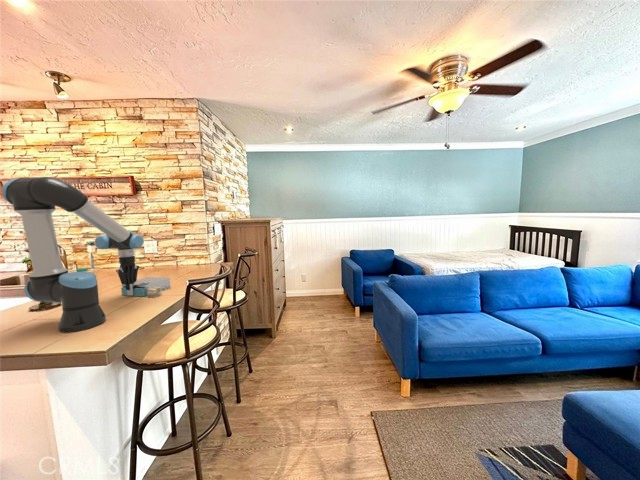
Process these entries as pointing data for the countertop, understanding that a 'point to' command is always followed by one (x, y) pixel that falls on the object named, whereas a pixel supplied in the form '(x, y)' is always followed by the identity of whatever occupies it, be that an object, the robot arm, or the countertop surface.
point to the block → (154, 292)
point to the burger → (45, 306)
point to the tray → (134, 291)
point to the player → (152, 283)
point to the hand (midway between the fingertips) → (130, 294)
